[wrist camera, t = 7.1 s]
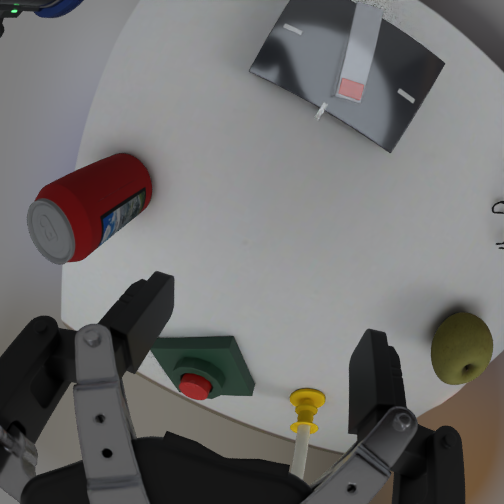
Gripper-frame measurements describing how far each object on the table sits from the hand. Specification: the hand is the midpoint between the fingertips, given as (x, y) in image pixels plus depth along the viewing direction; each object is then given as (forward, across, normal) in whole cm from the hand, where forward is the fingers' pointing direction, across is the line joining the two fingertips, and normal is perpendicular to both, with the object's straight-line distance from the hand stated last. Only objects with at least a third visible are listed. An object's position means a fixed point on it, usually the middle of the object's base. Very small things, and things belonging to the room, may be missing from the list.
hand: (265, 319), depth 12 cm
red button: (+13, +6, +26) cm, 30 cm away
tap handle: (+13, -2, -12) cm, 18 cm away
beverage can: (+16, +17, +3) cm, 24 cm away
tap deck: (+16, -2, -12) cm, 20 cm away
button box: (+16, +6, +26) cm, 32 cm away
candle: (+17, -9, +29) cm, 35 cm away
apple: (+17, -22, +10) cm, 30 cm away
